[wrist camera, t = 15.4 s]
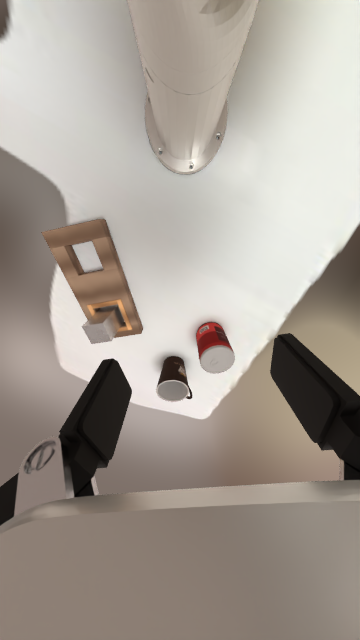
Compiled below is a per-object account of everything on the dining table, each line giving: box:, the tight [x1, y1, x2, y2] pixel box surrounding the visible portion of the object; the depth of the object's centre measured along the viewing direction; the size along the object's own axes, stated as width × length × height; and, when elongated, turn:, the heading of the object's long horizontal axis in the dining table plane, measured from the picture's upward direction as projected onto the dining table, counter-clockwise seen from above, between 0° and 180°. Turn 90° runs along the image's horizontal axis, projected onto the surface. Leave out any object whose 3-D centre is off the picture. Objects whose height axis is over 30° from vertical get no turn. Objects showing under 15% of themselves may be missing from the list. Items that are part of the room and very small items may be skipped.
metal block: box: [82, 305, 124, 344], centre depth 37 cm, size 4×4×10 cm
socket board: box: [42, 219, 143, 338], centre depth 37 cm, size 26×12×3 cm, turn 10°
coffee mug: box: [156, 356, 192, 402], centre depth 47 cm, size 12×9×10 cm
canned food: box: [196, 322, 235, 373], centre depth 40 cm, size 8×8×11 cm
